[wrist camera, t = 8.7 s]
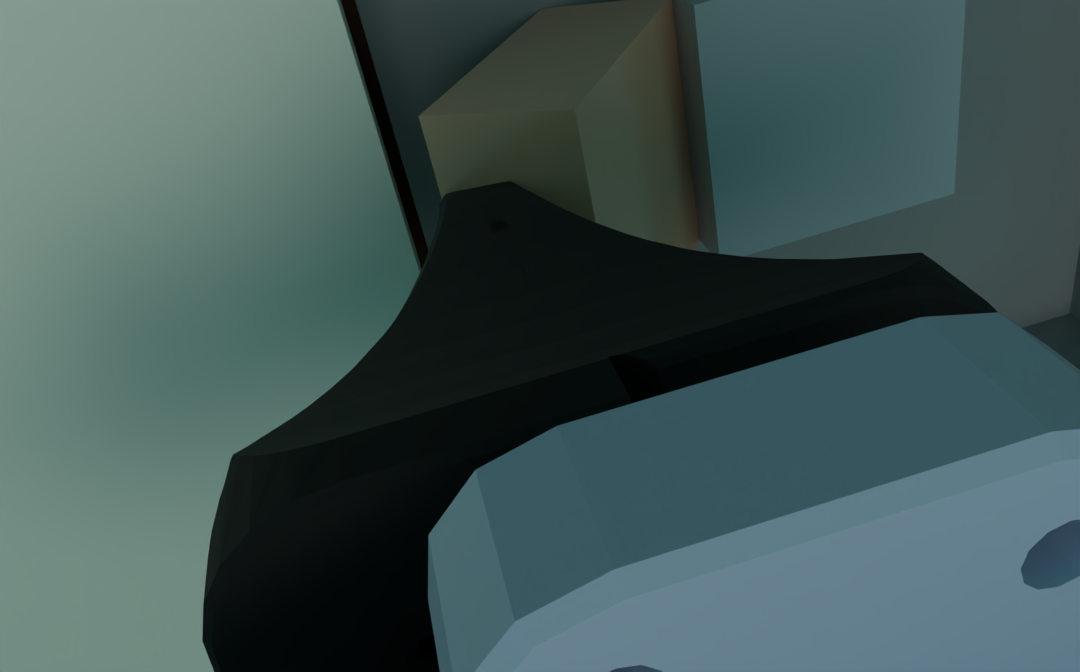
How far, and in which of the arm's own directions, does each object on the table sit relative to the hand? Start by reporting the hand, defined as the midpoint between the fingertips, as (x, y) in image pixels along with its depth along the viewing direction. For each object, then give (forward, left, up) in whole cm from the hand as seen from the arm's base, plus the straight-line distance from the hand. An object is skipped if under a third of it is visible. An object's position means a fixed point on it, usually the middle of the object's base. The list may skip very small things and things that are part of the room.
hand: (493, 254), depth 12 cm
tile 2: (0, -5, -1) cm, 6 cm away
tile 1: (0, -1, -2) cm, 2 cm away
